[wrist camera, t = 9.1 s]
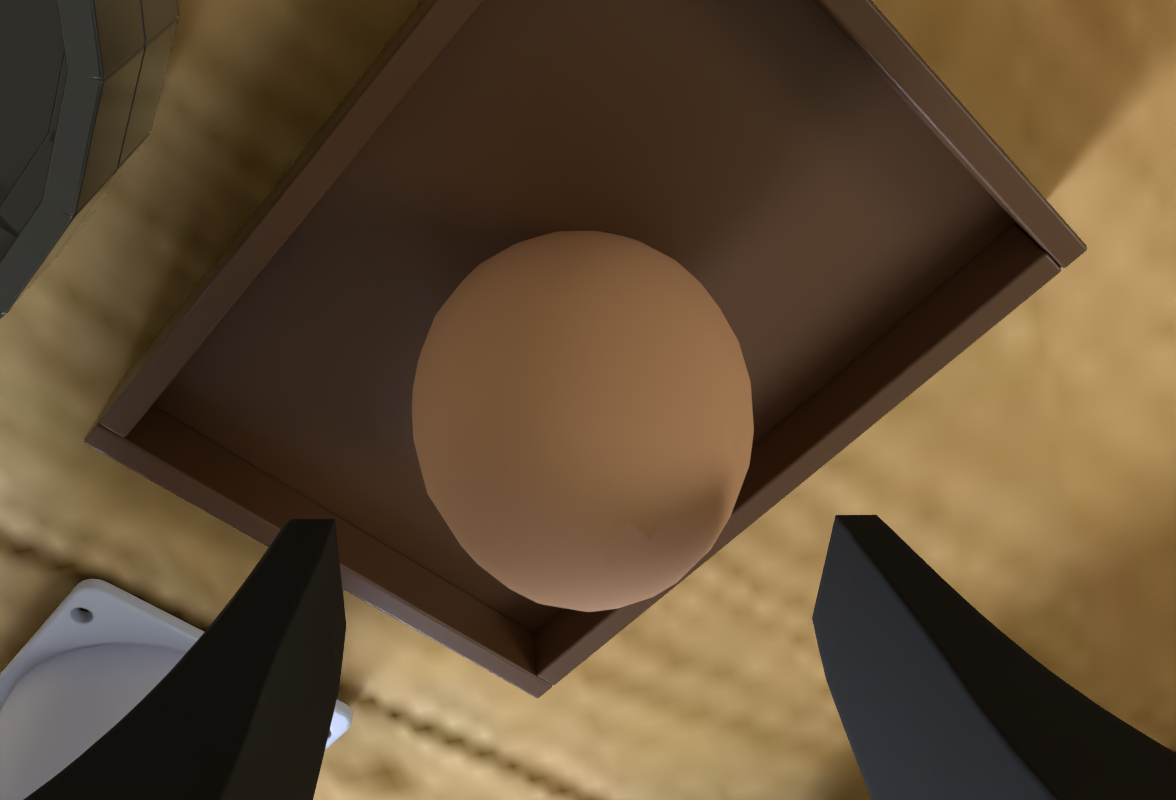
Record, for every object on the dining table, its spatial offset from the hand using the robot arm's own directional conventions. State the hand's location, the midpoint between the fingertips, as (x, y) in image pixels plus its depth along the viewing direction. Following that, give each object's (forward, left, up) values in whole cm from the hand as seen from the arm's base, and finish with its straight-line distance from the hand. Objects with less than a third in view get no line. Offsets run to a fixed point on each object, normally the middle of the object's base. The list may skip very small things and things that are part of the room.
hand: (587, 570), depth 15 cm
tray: (0, 0, -9) cm, 9 cm away
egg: (0, 0, -8) cm, 8 cm away
